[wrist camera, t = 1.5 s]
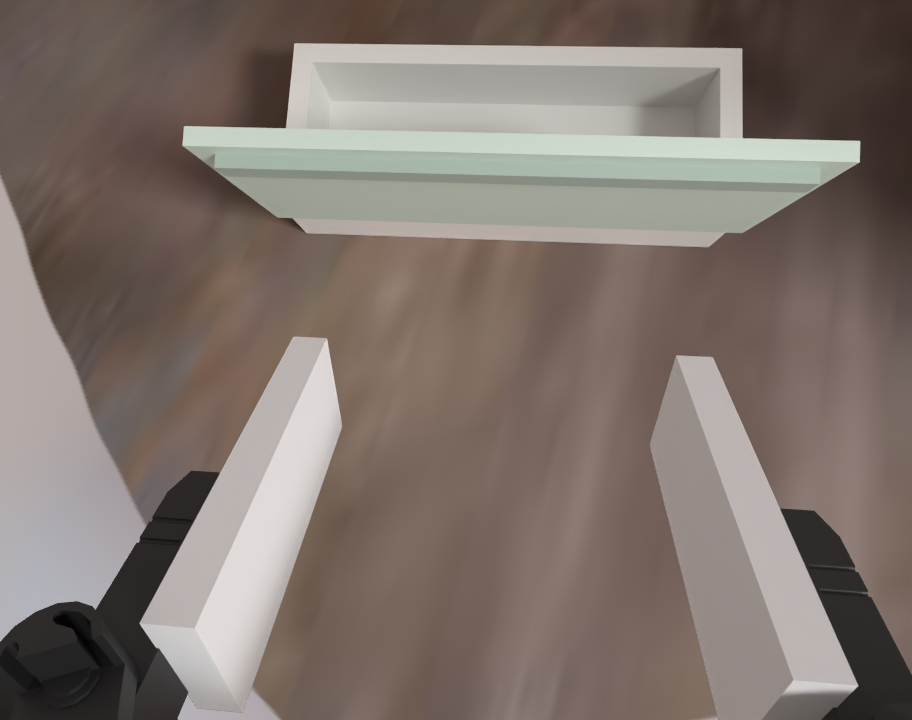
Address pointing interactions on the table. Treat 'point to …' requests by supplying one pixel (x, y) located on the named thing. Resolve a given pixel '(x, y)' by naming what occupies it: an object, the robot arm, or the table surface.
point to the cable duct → (517, 109)
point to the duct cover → (520, 176)
